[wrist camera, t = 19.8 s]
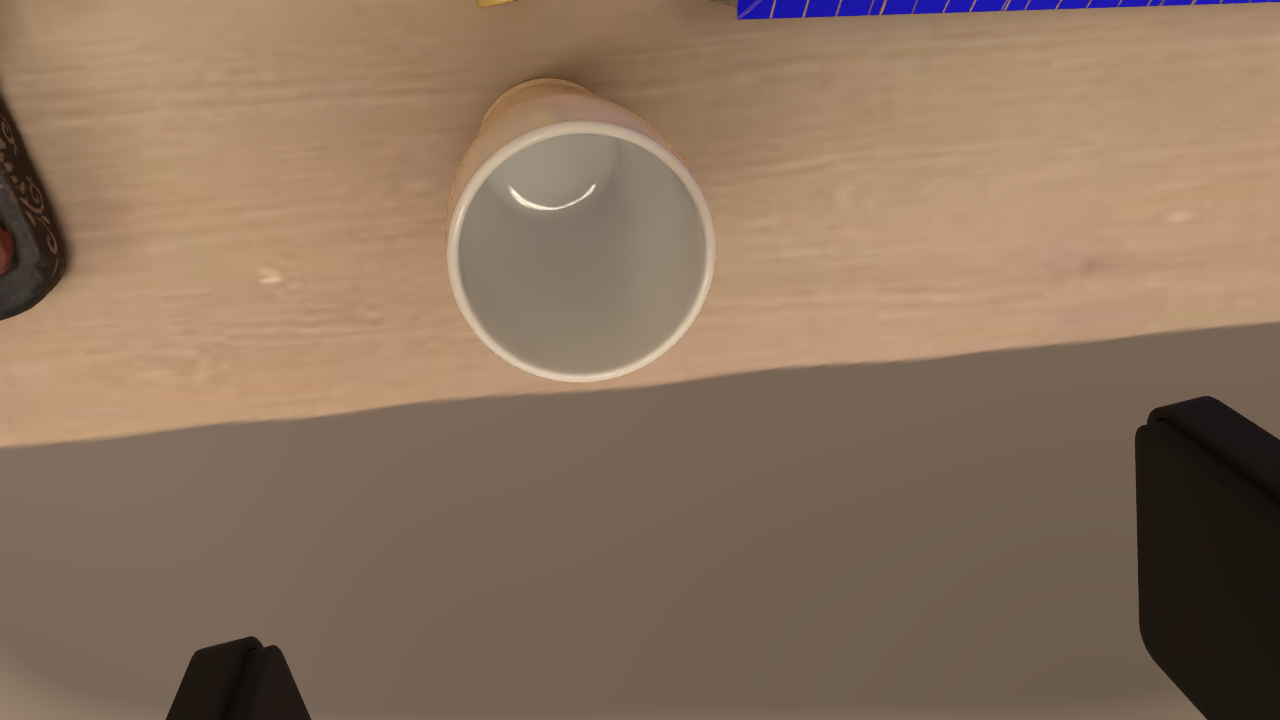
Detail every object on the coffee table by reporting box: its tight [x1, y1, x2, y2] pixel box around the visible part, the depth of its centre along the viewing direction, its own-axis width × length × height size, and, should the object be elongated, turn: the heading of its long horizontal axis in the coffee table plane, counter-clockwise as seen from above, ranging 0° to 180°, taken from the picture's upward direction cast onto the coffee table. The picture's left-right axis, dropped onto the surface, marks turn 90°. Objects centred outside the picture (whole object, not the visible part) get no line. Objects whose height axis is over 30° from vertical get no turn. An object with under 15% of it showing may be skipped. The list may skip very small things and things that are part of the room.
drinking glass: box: [445, 78, 716, 383], centre depth 32 cm, size 7×7×15 cm
